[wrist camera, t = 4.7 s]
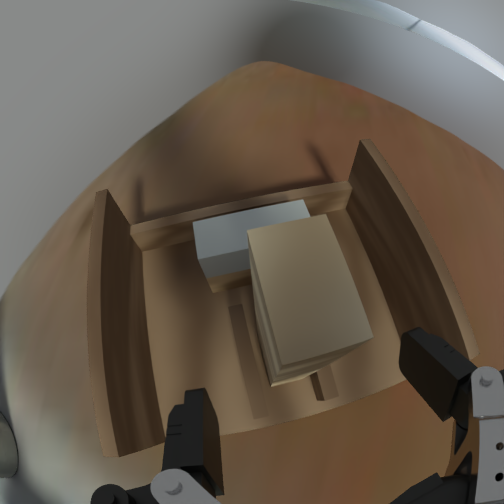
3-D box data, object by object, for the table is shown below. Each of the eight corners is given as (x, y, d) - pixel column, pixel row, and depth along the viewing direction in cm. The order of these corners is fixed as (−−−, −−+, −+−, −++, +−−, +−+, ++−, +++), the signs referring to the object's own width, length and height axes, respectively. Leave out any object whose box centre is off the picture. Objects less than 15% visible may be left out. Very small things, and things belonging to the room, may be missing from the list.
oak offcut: (213, 292, 24) (206, 278, 21) (207, 261, 25) (200, 244, 22) (306, 271, 24) (311, 254, 22) (296, 242, 26) (299, 222, 23)
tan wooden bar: (270, 387, 20) (282, 365, 7) (258, 337, 22) (246, 229, 9) (302, 378, 20) (373, 337, 7) (289, 330, 22) (325, 213, 9)
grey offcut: (206, 278, 21) (197, 259, 18) (200, 244, 22) (192, 222, 20) (311, 254, 22) (317, 233, 19) (299, 222, 23) (303, 199, 20)
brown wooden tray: (159, 440, 19) (103, 456, 11) (137, 251, 27) (96, 192, 19) (414, 374, 20) (479, 353, 12) (347, 206, 29) (370, 139, 21)
